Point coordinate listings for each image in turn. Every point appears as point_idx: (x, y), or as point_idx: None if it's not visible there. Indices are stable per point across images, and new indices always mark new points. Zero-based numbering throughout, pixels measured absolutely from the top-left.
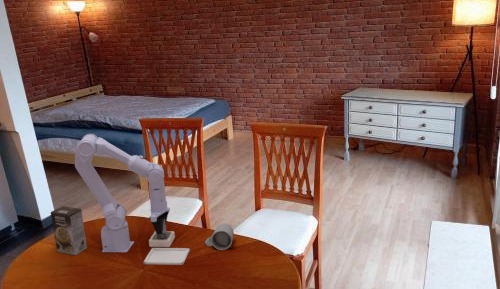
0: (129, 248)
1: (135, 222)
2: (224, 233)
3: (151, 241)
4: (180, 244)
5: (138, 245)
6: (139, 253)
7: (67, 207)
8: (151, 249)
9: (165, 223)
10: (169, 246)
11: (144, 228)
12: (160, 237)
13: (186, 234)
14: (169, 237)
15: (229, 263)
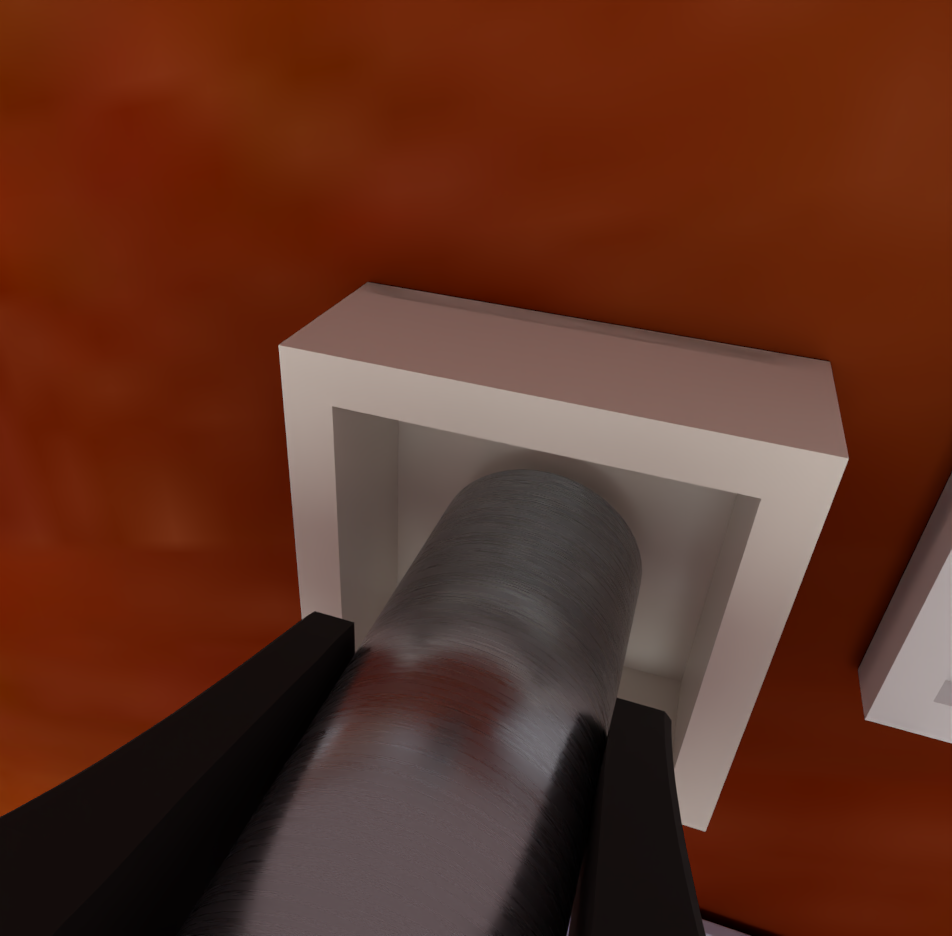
0: (707, 930)
1: (27, 777)
2: None
3: (717, 779)
4: (680, 94)
5: None
6: (886, 835)
7: None
8: (935, 735)
9: (255, 735)
10: (832, 378)
11: (126, 715)
12: (625, 653)
13: (167, 18)
14: (624, 448)
15: None
